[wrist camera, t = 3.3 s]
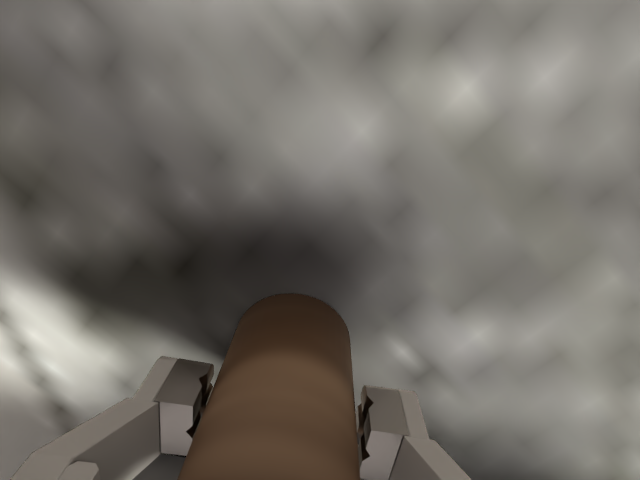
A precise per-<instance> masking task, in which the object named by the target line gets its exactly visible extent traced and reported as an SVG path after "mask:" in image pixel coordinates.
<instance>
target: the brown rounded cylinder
mask: <svg viewBox="0 0 640 480" xmlns="http://www.w3.org/2000/svg"><path fill="white" fill-rule="evenodd" d="M177 480H360V470H359V456H358V442H357V429H356V415H355V402H354V388H353V375H352V361H351V347H350V337H349V332H348V329H347V326H346V324H345V322H344V321H343V319H342V318H341V316H340V315H339V314H338V313H337V312H336V311H335V310H334V309H333V308H331V307H330V306H329V305H327V304H326V303H324V302H323V301H320V300H318V299H316V298H313V297H310V296H307V295H302V294H293V293H291V294H278V295H274V296H270V297H267V298H265V299H262V300H261V301H259V302H257V303H255V304H254V305H253V306H251V307H250V308H249V309H248V310H247V311H246V312H245V314H244V315H243V316H242V318H241V320H240V322H239V324H238V326H237V329H236V331H235V334H234V336H233V339H232V342H231V344H230V347H229V349H228V352H227V354H226V357H225V359H224V362H223V364H222V367H221V370H220V372H219V375H218V377H217V380H216V382H215V385H214V387H213V390H212V392H211V395H210V397H209V400H208V403H207V405H206V408H205V410H204V413H203V415H202V418H201V420H200V423H199V425H198V428H197V431H196V433H195V436H194V438H193V441H192V443H191V446H190V448H189V451H188V453H187V456H186V459H185V461H184V464H183V466H182V469H181V471H180V474H179V476H178V479H177Z"/></svg>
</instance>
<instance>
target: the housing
mask: <svg viewBox="0 0 640 480" xmlns="http://www.w3.org/2000/svg"><path fill="white" fill-rule="evenodd" d="M185 459H186V457H178V456H171V455H163V454H160V455H159V456H158V457H157V458H156V459H155V460H153V461H152V462H151V463H150V464H149V465H148V466H147V467H146V468H145V469H143V470H142V471H141V472H140V473H139V474H138V475H137V476H136V477H134V478H133V479H132V480H177V479H178V476H179V474H180V471H181V469H182V466H183V464H184V461H185Z"/></svg>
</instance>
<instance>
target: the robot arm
mask: <svg viewBox="0 0 640 480" xmlns="http://www.w3.org/2000/svg"><path fill="white" fill-rule="evenodd" d="M213 375H214V365H213V364H210V363H204V362H198V361H192V360H186V359H177V358H171V357H165V356H161V357H160V358H159V359H158V360H157V361H156V363H155V364H154V366H153V367H152V369H151V370H150V372H149V374H148V375H147V377H146V378H145V380H144V381H143V383H142V384H141V386H140V387H139V389H138V391H137V392H136V394H135V395H134V397H133V398H132V399H129V398H126V399H125V400H123V401H121V402H119V403H118V404H116V405H114V406H112V407H111V408H109V409H107V410H106V411H104V412H102V413H100V414H99V415H97V416H95V417H93V418H92V419H90V420H88V421H86V422H85V423H83V424H81V425H80V426H78V427H76V428H74V429H73V430H71V431H69V432H67V433H66V434H64V435H62V436H61V437H59V438H57V439H55V440H54V441H52V442H50V443H48V444H47V445H45V446H43V447H42V448H40V449H38V450H36V451H35V452H33V453H32V454H31V455H30V456H29V457H28V458H27V460H26V461H25V462H24V463H23V464H22V466H21V467H20V468H19V469H18V471H17V472H16V473H15V474H14V475H13V477H12V478H11V479H10V480H132V479H133V478H134V477H136V476H137V475H138V474H139V473H140V472H141V471H142V470H143V469H145V468H146V467H147V466H148V465H149V464H150V463H151V462H152V461H153V460H155V459H156V458H157V457H158V456H159V455H160V453H165V454H175V455H185V456H187V453H188V451H189V448H190V446H191V443H192V441H193V438H194V436H195V433H196V431H197V428H198V425H199V423H200V420H201V418H202V415H203V413H204V410H205V408H206V405H207V403H208V400H209V397H210V395H211V392H212V390H213V386H212V384H211V383H210V382H211V380H212V377H213ZM356 429H357V442H358V445H359V446H358V456H359V470H360V479H366V480H472V479H471V478H470V477H469V476H468V475H467V474H466V473H465V472H464V471H463V470H462V469H461V468H460V467H459V466H458V465H457V464H456V462H455V461H454V460H453V459H452V458H451V457H450V456H449V455H448V454H447V453H446V452H445V451H444V450H443V449H442V448H441V446H440V445H439V444H438V443H437V442H436V441H435V440H431V439H429V436H428V433H427V429H426V426H425V422H424V419H423V415H422V412H421V408H420V405H419V401H418V398H417V394H416V393H415V392H414V391H408V390H400V389H391V388H383V387H376V386H368V385H364V387H363V389H362V392H361V404H360V405H359V406H358V408H357V412H356Z"/></svg>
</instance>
